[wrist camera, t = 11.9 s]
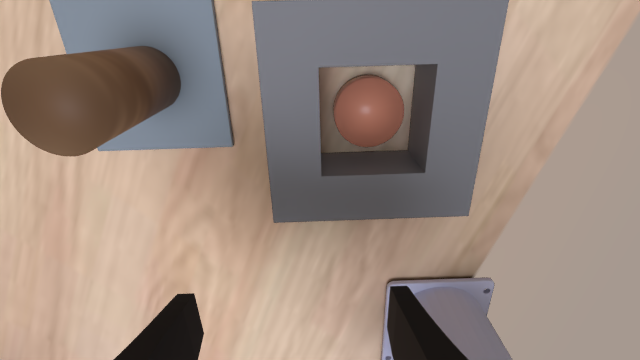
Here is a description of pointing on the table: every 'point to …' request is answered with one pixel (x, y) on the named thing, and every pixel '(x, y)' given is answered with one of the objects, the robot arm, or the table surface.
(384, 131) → the orange domed disc
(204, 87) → the mat
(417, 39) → the frame
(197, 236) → the table surface
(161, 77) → the dowel
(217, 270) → the table surface
